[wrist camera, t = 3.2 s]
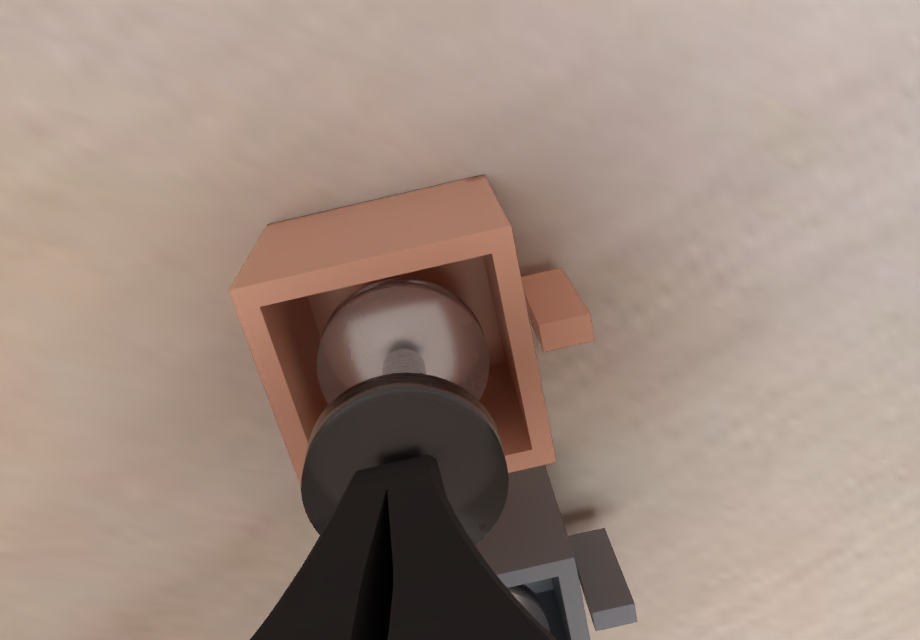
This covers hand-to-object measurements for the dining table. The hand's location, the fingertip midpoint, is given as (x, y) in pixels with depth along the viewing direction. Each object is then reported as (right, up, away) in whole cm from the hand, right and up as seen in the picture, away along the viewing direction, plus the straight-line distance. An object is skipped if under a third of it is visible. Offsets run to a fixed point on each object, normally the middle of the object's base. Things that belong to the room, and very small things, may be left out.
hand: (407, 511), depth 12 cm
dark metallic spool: (0, +2, +5) cm, 6 cm away
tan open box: (-1, +4, +9) cm, 10 cm away
